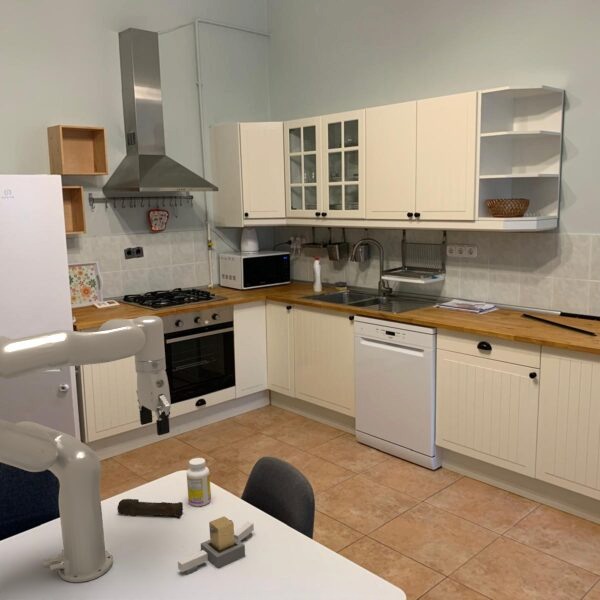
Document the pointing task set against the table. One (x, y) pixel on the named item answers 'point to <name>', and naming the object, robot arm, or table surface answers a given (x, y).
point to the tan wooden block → (221, 534)
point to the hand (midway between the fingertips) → (154, 428)
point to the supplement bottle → (198, 482)
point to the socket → (213, 556)
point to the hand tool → (149, 508)
